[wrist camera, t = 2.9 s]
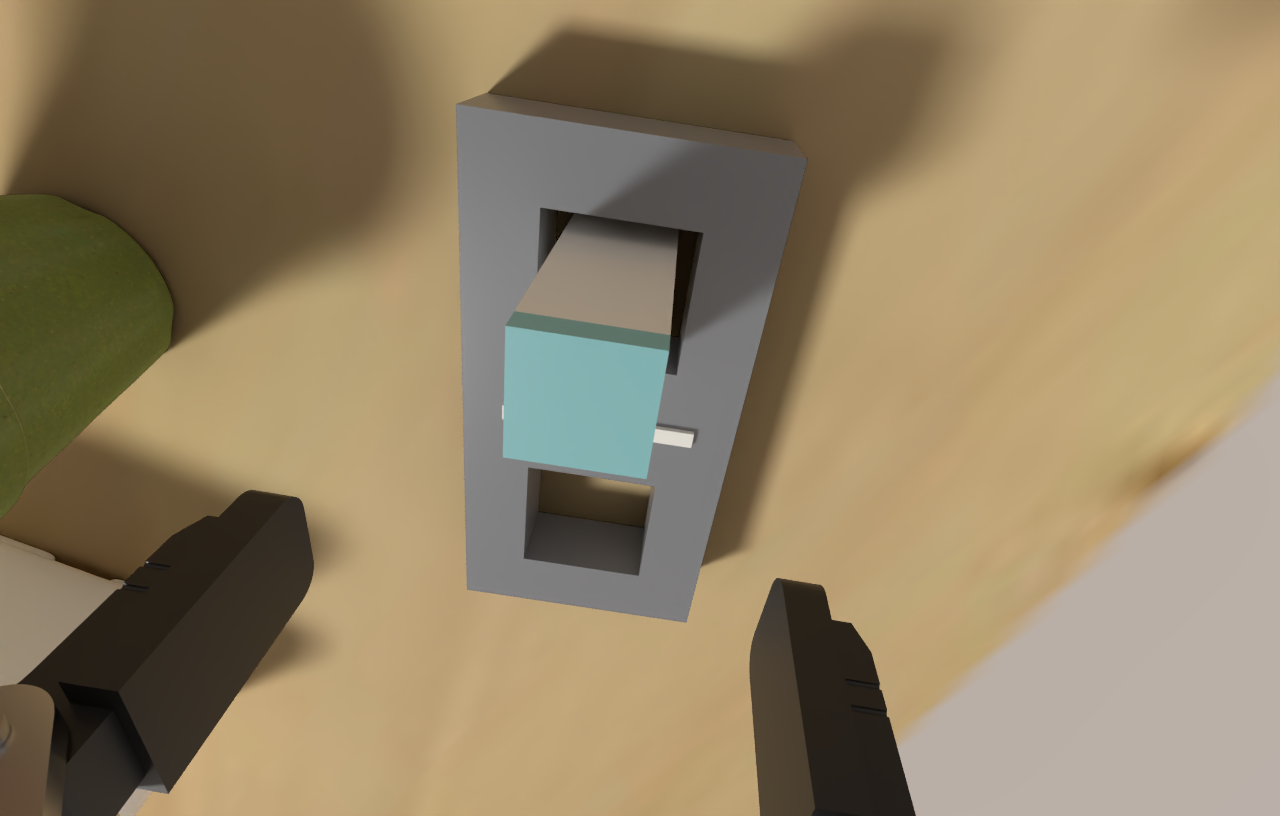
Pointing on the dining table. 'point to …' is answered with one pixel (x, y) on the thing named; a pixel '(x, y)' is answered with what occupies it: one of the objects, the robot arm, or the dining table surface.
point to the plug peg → (592, 348)
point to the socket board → (698, 360)
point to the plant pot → (68, 327)
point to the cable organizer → (45, 614)
